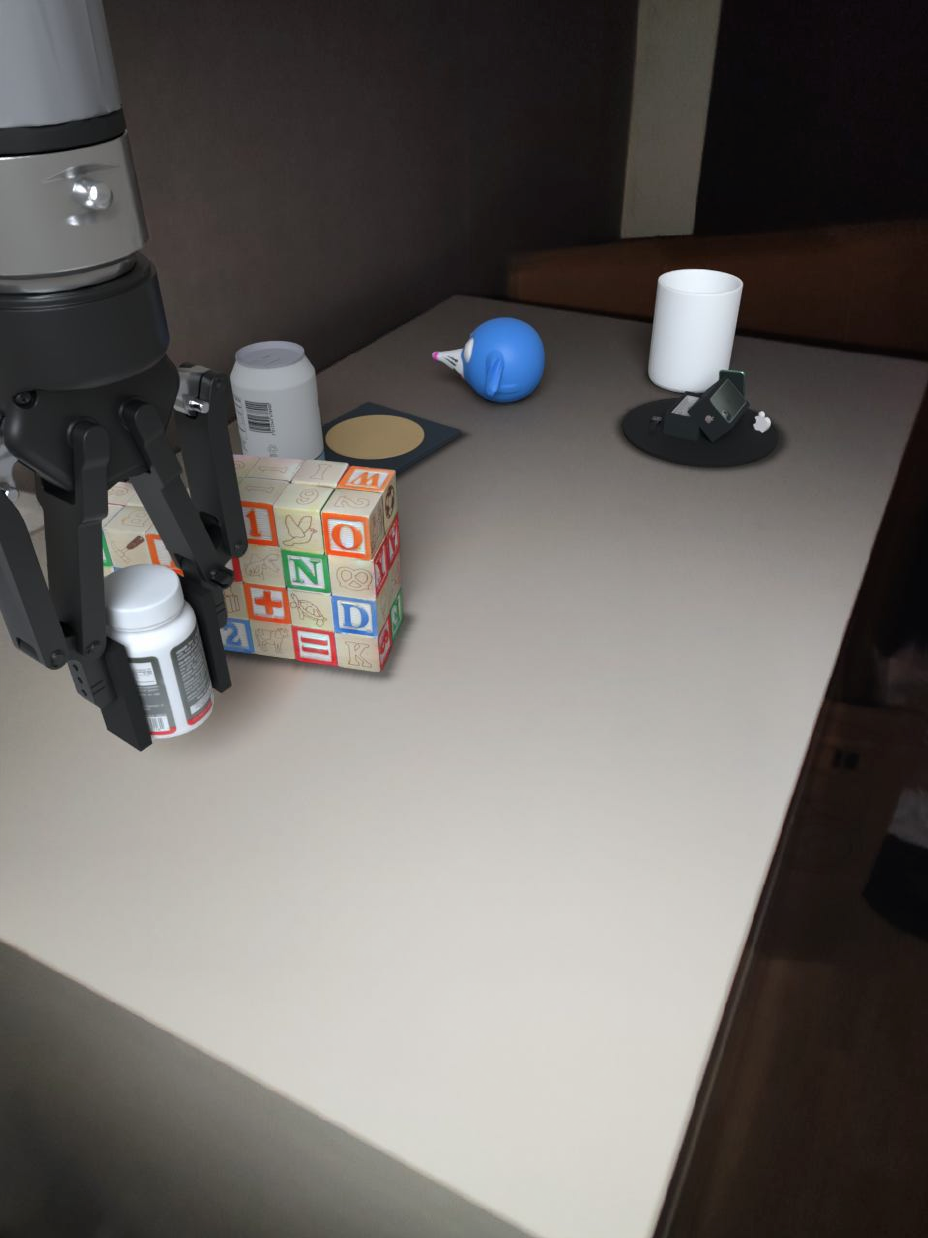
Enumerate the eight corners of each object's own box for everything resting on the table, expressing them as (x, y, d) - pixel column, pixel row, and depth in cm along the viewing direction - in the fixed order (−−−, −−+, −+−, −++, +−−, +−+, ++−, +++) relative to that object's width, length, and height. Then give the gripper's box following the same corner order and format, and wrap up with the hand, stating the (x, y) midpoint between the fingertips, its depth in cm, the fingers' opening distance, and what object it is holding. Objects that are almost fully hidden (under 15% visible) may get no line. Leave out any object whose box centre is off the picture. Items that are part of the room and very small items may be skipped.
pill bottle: (197, 671, 52) (169, 547, 47) (228, 719, 49) (202, 592, 44) (113, 701, 50) (74, 576, 45) (140, 754, 47) (102, 625, 42)
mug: (736, 360, 105) (752, 264, 99) (719, 400, 96) (736, 297, 90) (662, 351, 108) (673, 256, 101) (639, 389, 99) (650, 288, 92)
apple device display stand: (753, 481, 82) (764, 424, 79) (599, 444, 88) (603, 391, 85) (794, 418, 93) (806, 366, 89) (653, 390, 99) (660, 340, 95)
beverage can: (343, 484, 81) (330, 352, 74) (279, 512, 77) (258, 376, 70) (296, 459, 85) (280, 331, 78) (233, 484, 81) (209, 353, 74)
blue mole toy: (444, 372, 103) (442, 297, 98) (549, 379, 101) (552, 302, 96) (420, 417, 94) (417, 336, 89) (535, 425, 92) (539, 343, 87)
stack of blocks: (93, 636, 65) (43, 481, 58) (135, 586, 70) (95, 438, 62) (382, 673, 61) (369, 514, 54) (406, 618, 66) (397, 466, 59)
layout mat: (191, 499, 80) (190, 493, 80) (368, 406, 96) (368, 400, 96) (289, 541, 75) (288, 534, 74) (461, 435, 90) (460, 428, 90)
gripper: (-132, 355, 27) (72, 849, 42) (286, 225, 39) (334, 648, 53) (-245, 306, 31) (-21, 777, 45) (170, 200, 42) (244, 603, 57)
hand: (171, 706), depth 49 cm, fingers closed on pill bottle, 5 cm apart
